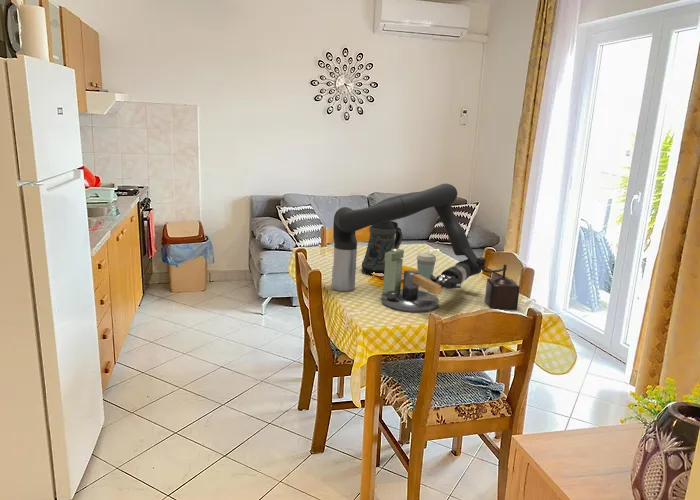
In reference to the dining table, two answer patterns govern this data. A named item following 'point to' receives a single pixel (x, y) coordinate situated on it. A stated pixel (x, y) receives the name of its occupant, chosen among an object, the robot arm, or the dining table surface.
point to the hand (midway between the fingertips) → (436, 286)
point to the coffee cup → (426, 264)
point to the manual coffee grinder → (500, 289)
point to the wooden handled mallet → (417, 285)
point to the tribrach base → (394, 292)
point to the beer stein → (380, 246)
